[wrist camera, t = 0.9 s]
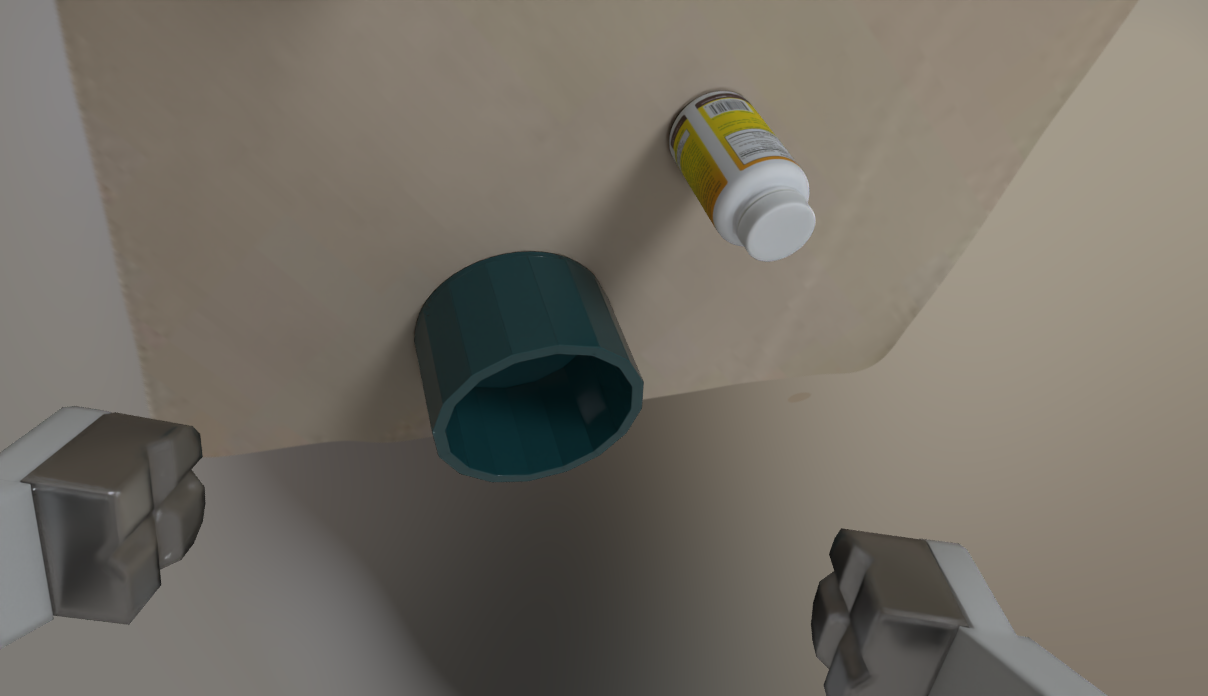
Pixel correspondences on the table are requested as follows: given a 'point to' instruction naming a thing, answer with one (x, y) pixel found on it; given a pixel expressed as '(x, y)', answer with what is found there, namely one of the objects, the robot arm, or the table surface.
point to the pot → (524, 368)
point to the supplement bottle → (742, 176)
